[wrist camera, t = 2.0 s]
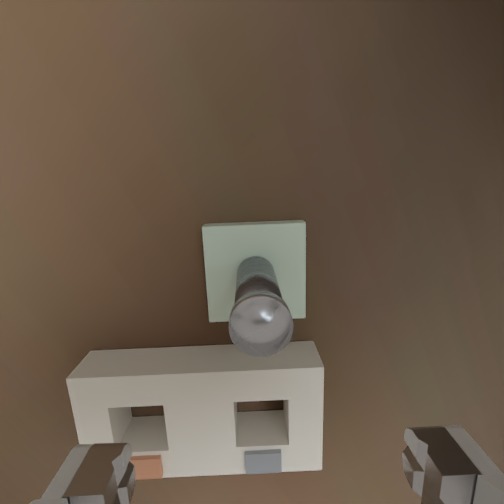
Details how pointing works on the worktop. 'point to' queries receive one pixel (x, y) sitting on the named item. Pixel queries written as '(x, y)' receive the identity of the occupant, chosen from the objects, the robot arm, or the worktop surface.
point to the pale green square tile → (247, 245)
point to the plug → (259, 310)
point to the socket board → (203, 408)
